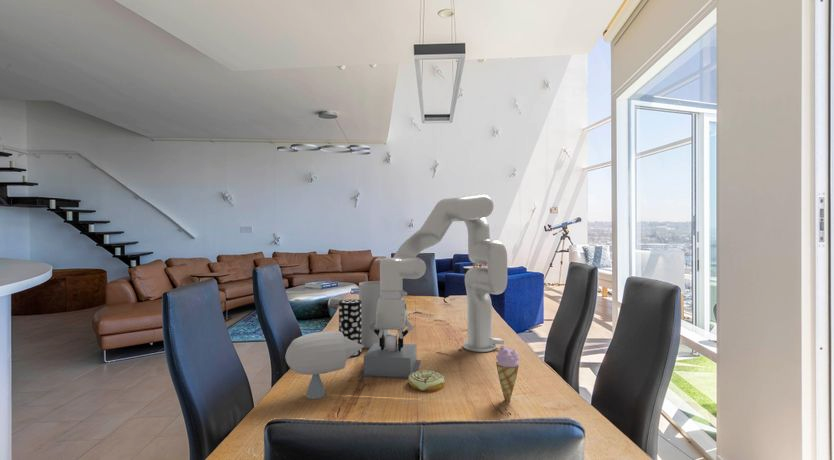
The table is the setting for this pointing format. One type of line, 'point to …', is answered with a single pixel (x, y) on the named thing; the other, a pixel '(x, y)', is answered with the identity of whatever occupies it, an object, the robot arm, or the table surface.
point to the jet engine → (319, 357)
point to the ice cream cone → (507, 370)
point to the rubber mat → (392, 376)
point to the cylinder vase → (369, 311)
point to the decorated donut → (426, 380)
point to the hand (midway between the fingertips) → (391, 348)
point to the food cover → (390, 359)
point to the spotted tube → (351, 321)
